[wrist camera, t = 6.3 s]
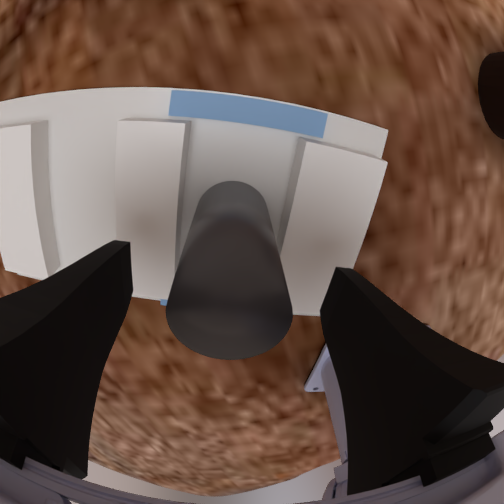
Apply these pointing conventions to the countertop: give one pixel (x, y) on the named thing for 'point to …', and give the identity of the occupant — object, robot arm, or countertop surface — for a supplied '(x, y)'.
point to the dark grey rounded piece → (230, 278)
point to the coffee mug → (493, 91)
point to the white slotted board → (181, 180)
